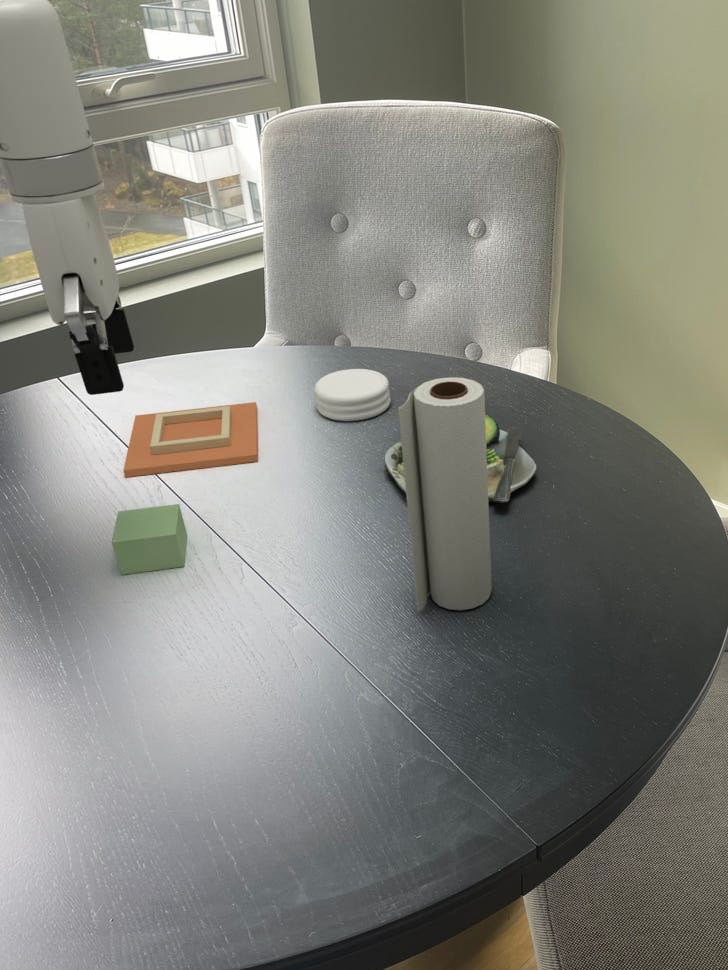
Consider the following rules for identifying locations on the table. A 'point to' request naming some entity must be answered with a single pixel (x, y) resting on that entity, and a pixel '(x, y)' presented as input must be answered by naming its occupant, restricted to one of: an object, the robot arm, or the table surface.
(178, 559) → the green block
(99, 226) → the robot arm
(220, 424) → the base mat
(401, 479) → the salad plate
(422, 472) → the paper towel roll
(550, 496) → the table surface
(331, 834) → the table surface
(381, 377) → the coaster
